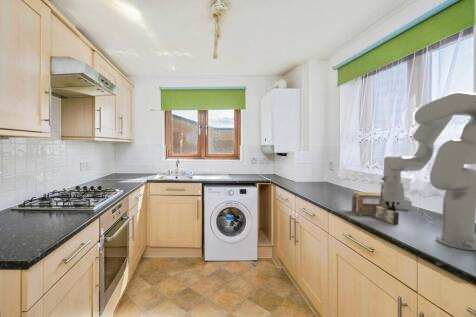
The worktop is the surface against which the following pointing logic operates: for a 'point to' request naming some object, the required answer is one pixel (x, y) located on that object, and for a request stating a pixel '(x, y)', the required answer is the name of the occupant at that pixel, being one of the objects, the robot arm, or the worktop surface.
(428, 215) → the worktop surface
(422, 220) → the worktop surface
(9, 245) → the worktop surface
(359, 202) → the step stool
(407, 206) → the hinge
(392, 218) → the mottled brown block
